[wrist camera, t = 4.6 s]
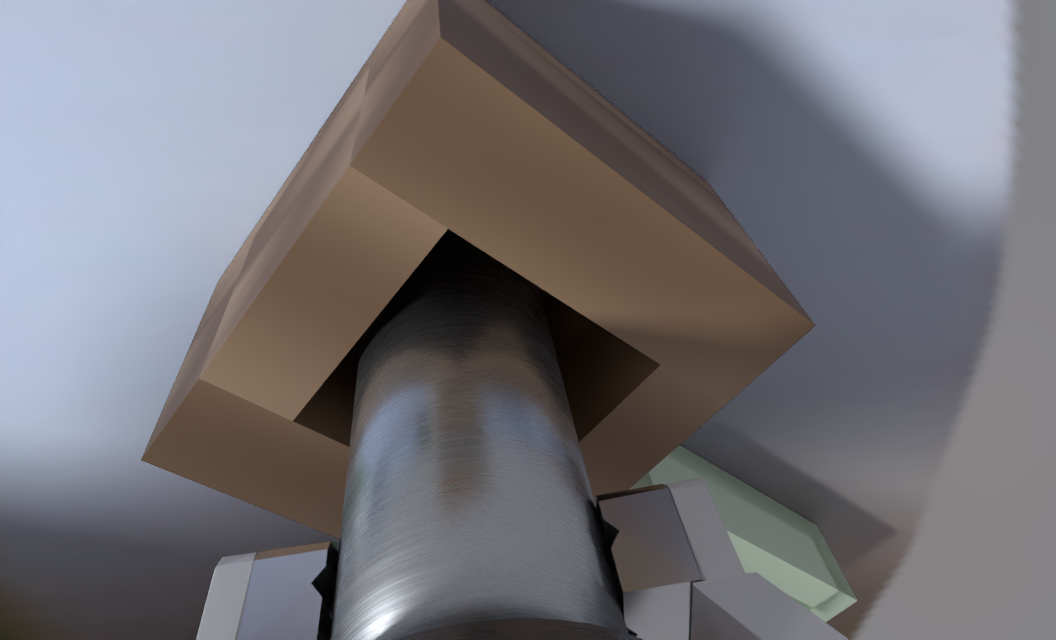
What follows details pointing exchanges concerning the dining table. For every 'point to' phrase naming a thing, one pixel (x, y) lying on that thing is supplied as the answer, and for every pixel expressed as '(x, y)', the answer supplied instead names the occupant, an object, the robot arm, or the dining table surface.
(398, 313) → the pin
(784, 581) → the tray
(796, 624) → the robot arm
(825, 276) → the dining table surface
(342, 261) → the block
